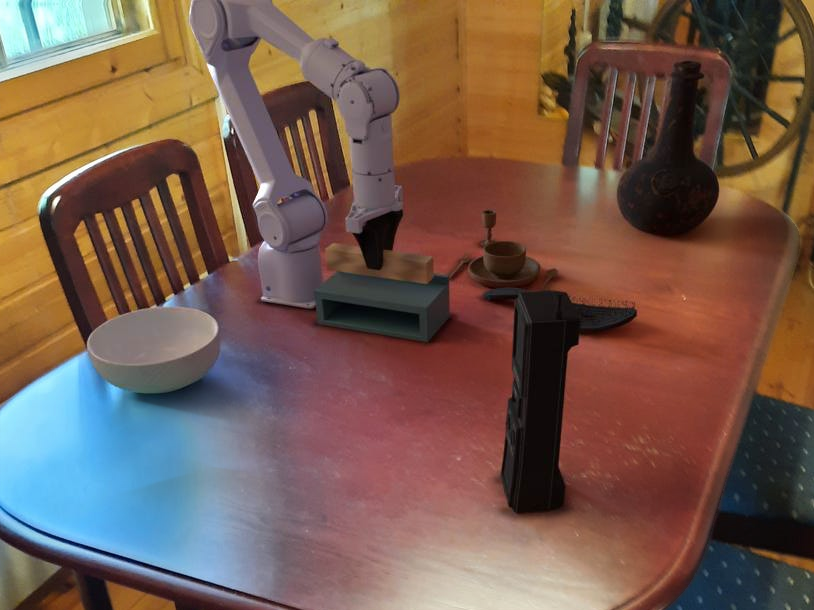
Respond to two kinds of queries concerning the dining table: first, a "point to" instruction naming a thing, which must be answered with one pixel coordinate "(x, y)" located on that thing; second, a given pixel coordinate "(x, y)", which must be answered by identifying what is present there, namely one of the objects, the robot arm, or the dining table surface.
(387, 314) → the shelf
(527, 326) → the portable radio
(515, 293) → the hairbrush
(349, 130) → the robot arm
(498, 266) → the place setting
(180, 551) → the dining table surface
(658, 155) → the glass bottle
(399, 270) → the stick
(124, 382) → the cereal bowl
